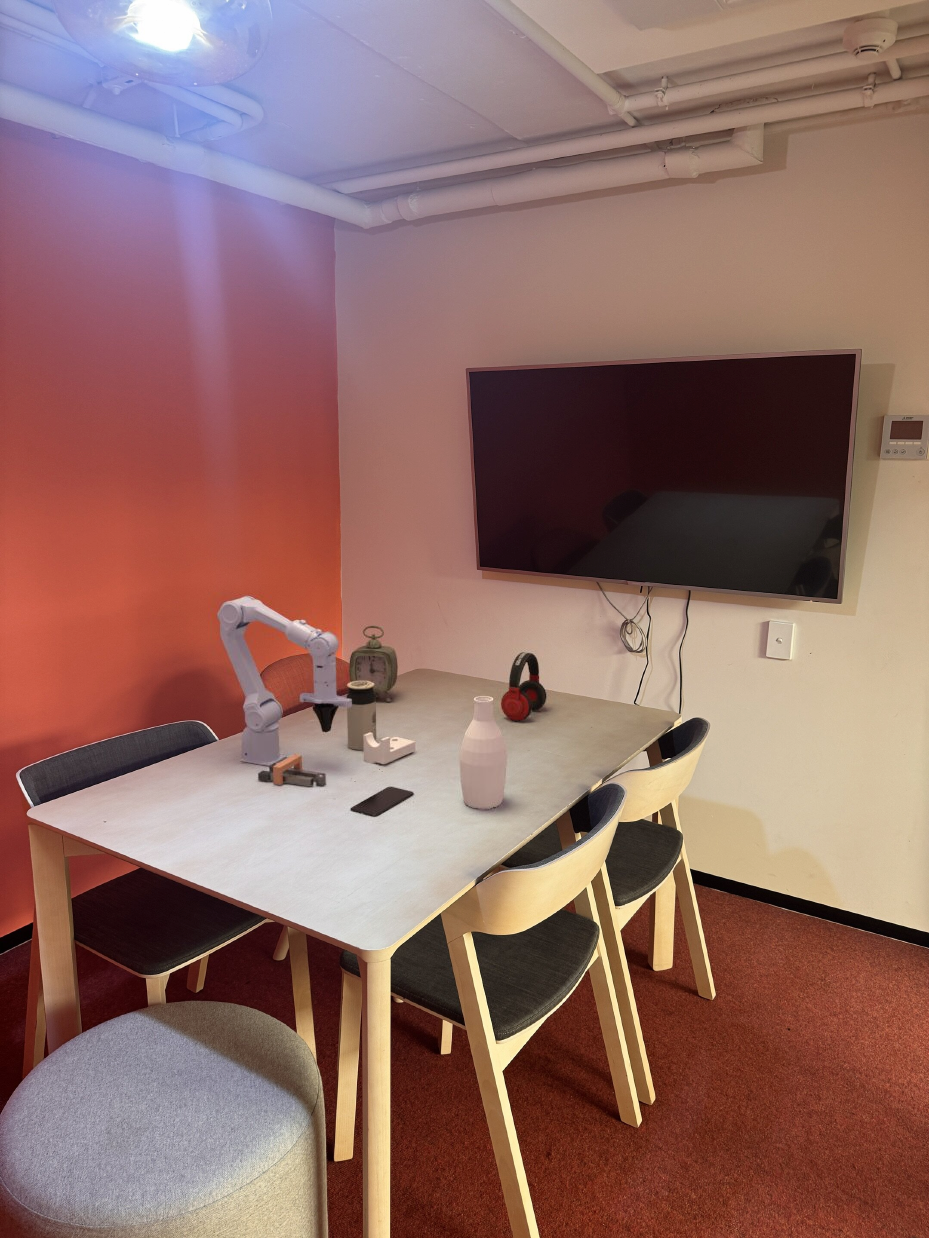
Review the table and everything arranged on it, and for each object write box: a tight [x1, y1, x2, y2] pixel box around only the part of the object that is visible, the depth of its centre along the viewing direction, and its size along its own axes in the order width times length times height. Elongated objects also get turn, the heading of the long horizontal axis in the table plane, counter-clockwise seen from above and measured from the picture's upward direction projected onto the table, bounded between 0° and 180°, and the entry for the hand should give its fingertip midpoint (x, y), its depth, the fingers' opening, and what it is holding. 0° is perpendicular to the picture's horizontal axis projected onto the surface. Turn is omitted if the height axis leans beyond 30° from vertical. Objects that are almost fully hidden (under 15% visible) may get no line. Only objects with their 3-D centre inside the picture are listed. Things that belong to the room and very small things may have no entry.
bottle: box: [459, 695, 508, 810], centre depth 202 cm, size 11×11×25 cm
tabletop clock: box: [348, 625, 399, 703], centre depth 286 cm, size 14×9×25 cm, turn 81°
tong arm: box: [257, 770, 315, 787], centre depth 216 cm, size 14×2×2 cm, turn 71°
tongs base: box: [268, 763, 327, 788], centre depth 219 cm, size 17×4×3 cm, turn 67°
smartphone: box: [350, 786, 415, 818], centre depth 205 cm, size 8×1×16 cm
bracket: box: [363, 733, 416, 765], centre depth 234 cm, size 13×7×8 cm, turn 144°
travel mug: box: [346, 681, 377, 751], centre depth 242 cm, size 8×8×18 cm
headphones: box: [500, 651, 547, 722], centre depth 270 cm, size 18×10×20 cm, turn 153°
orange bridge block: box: [273, 754, 303, 786], centre depth 219 cm, size 2×10×4 cm, turn 156°
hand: (326, 730), depth 225 cm, fingers closed
